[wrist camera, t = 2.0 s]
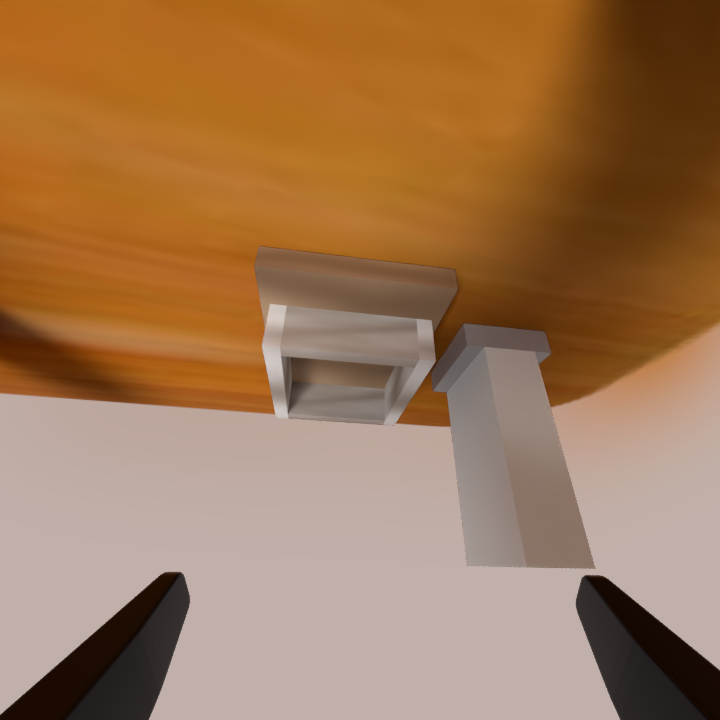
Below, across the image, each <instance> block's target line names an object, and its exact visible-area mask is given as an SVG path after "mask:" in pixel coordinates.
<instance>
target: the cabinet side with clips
mask: <svg viewBox="0 0 720 720" xmlns="http://www.w3.org/2000/svg"><path fill="white" fill-rule="evenodd" d="M254 267H255V273H256V279H257V285H258V291H259V296H260V302H261V308H262V314H263V320H264V326H265V333H264V338H263V343H262V348H263V353H264V358H265V363H266V368H267V373H268V378H269V383H270V389H271V394H272V399H273V404H274V409H275V414H276V417H277V418H289V419H303V420H318V421H333V422H347V423H362V424H378V425H392V426H394V425H395V423H396V422H397V420H398V419H399V417H400V416H401V414H402V413H403V411H404V409H405V408H406V406H407V405H408V403H409V402H410V400H411V399H412V397H413V396H414V394H415V393H416V391H417V389H418V388H419V386H420V385H421V383H422V382H423V380H424V379H425V377H426V376H427V374H428V373H429V371H430V369H431V368H432V366H433V365H434V363H435V362H436V356H435V347H434V337H433V333H434V332H435V330H436V328H437V326H438V324H439V323H440V321H441V319H442V317H443V315H444V314H445V312H446V310H447V308H448V307H449V305H450V303H451V301H452V299H453V298H454V296H455V294H456V292H457V291H458V284H457V277H456V271H455V269H447V268H438V267H430V266H421V265H413V264H404V263H396V262H388V261H379V260H371V259H362V258H354V257H346V256H337V255H329V254H320V253H312V252H303V251H295V250H287V249H278V248H270V247H261V246H259V249H258V253H257V257H256V261H255V265H254Z"/></svg>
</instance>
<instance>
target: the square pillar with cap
mask: <svg viewBox="0 0 720 720" xmlns="http://www.w3.org/2000/svg"><path fill="white" fill-rule="evenodd" d="M550 354H551V350H550V346H549V343H548V340H547V337H546V333H545V331H535V330H525V329H515V328H505V327H495V326H485V325H476V324H466V323H464V324H463V325H462V327H461V328H460V330H459V331H458V333H457V334H456V336H455V337H454V339H453V340H452V342H451V343H450V345H449V346H448V348H447V349H446V351H445V352H444V354H443V355H442V357H441V358H440V360H439V361H438V363H437V364H436V366H435V367H434V369H433V370H432V372H431V376H432V387H433V391H436V392H447V399H448V408H449V416H450V425H451V433H452V441H453V449H454V459H455V466H456V476H457V484H458V492H459V501H460V509H461V518H462V527H463V535H464V543H465V552H466V560H467V566H488V567H535V568H589V569H591V568H592V569H595V566H594V562H593V559H592V555H591V551H590V548H589V544H588V540H587V537H586V533H585V530H584V526H583V522H582V519H581V515H580V512H579V508H578V505H577V501H576V497H575V494H574V490H573V486H572V483H571V479H570V476H569V472H568V469H567V465H566V461H565V458H564V454H563V450H562V447H561V444H560V440H559V436H558V432H557V429H556V425H555V422H554V418H553V414H552V411H551V407H550V404H549V400H548V396H547V393H546V389H545V386H544V382H543V378H542V375H541V371H540V368H539V364H540V363H541V362H542V361H543V360H544V359H545V358H547V357H548V356H549V355H550Z"/></svg>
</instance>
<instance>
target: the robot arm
mask: <svg viewBox="0 0 720 720" xmlns="http://www.w3.org/2000/svg"><path fill="white" fill-rule="evenodd" d="M189 604H190V595H189V592H188V588H187V585H186V581H185V577H184V575H183V574H182V573H181V572H165V573H163V574H162V575H160V576H159V577H158V578H156V579H155V580H154V581H153V582H152V583H151V584H150V585H148V586H147V587H146V588H145V589H144V590H143V591H141V592H140V593H139V594H138V595H137V596H136V597H135V598H134V599H132V600H131V601H130V602H129V603H128V604H127V605H126V606H124V607H123V608H122V609H121V610H120V611H119V612H117V613H116V614H115V615H114V616H113V617H112V618H111V619H109V620H108V621H107V622H106V623H105V624H104V625H103V626H101V627H100V628H99V629H98V630H97V631H96V632H95V633H93V634H92V635H91V636H90V637H89V638H88V639H87V640H85V641H84V642H83V643H82V644H81V645H80V646H78V647H77V648H76V649H75V650H74V651H73V652H72V653H70V654H69V655H68V656H67V657H66V658H65V659H64V660H62V661H61V662H60V663H59V664H58V665H57V666H56V667H54V669H52V670H51V671H50V672H49V673H48V674H47V675H45V676H44V677H43V678H42V679H41V680H40V681H38V682H37V683H36V684H35V685H34V686H33V687H31V688H30V689H29V690H28V691H27V692H26V693H25V694H23V695H22V696H21V697H20V698H19V699H18V700H17V701H15V702H14V703H13V704H12V705H11V706H10V707H9V708H8V709H6V710H5V711H4V712H3V713H2V714H1V715H0V720H149V718H150V715H151V713H152V711H153V708H154V706H155V703H156V701H157V699H158V696H159V694H160V691H161V688H162V686H163V683H164V680H165V677H166V674H167V671H168V668H169V665H170V662H171V659H172V656H173V653H174V650H175V647H176V644H177V641H178V638H179V635H180V632H181V629H182V626H183V623H184V620H185V617H186V614H187V611H188V608H189ZM576 608H577V612H578V615H579V617H580V620H581V623H582V626H583V628H584V631H585V633H586V636H587V639H588V641H589V644H590V646H591V649H592V652H593V654H594V657H595V659H596V662H597V664H598V667H599V670H600V672H601V675H602V677H603V680H604V682H605V685H606V688H607V690H608V692H609V695H610V698H611V700H612V702H613V704H614V707H615V709H616V711H617V713H618V715H619V717H620V720H720V670H719V669H718V668H716V667H715V666H714V665H713V664H712V663H710V662H709V661H708V660H707V659H705V658H704V657H703V656H702V655H701V654H699V653H698V652H697V651H696V650H694V649H693V648H692V647H691V646H689V645H688V644H687V643H686V642H685V641H683V640H682V639H681V638H680V637H678V636H677V635H676V634H675V633H674V632H672V631H671V630H670V629H668V628H667V627H666V626H665V625H664V624H663V623H661V622H660V621H659V620H658V619H656V618H655V617H654V616H653V615H651V614H650V613H649V612H648V611H646V610H645V609H644V608H643V607H642V606H640V605H639V604H638V603H636V602H635V601H634V600H633V599H632V598H631V597H629V596H628V595H627V594H626V593H625V592H623V591H622V590H621V589H620V588H618V587H617V586H616V585H615V584H613V583H612V582H611V581H610V580H609V579H607V578H605V577H603V576H599V575H585V576H584V577H582V579H581V583H580V587H579V590H578V594H577V598H576Z"/></svg>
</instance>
